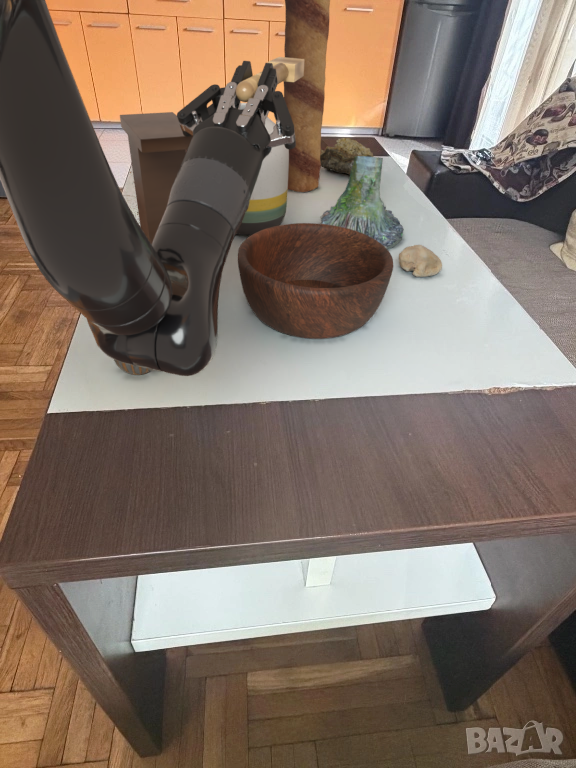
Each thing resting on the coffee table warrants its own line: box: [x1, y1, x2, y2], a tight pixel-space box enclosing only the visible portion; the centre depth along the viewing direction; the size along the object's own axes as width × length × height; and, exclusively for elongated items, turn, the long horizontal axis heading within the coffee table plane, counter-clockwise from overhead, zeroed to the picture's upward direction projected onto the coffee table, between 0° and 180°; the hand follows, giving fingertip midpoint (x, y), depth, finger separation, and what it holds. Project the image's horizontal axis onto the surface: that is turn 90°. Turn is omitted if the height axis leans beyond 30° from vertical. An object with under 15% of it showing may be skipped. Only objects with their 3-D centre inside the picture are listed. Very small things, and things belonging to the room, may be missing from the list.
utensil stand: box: [119, 111, 193, 296], centre depth 74 cm, size 12×8×30 cm, turn 25°
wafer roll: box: [283, 0, 331, 193], centre depth 124 cm, size 10×11×45 cm
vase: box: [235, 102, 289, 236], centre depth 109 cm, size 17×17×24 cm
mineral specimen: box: [320, 137, 375, 176], centre depth 145 cm, size 14×13×10 cm
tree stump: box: [319, 156, 404, 250], centre depth 114 cm, size 18×20×18 cm
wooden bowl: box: [237, 222, 394, 340], centre depth 87 cm, size 25×25×10 cm
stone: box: [398, 244, 443, 278], centre depth 102 cm, size 7×6×8 cm
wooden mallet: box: [236, 56, 304, 103], centre depth 63 cm, size 20×4×2 cm, turn 165°
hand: (259, 69), depth 59 cm, fingers closed on wooden mallet, 2 cm apart
